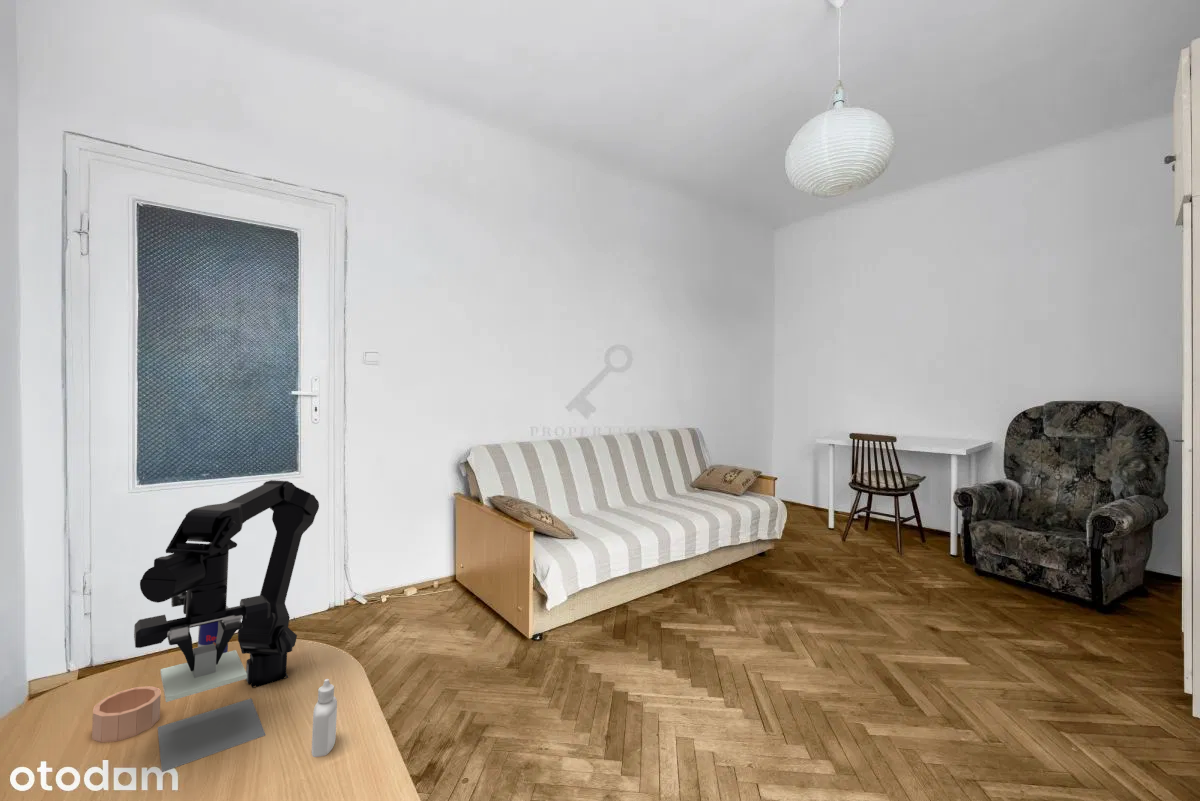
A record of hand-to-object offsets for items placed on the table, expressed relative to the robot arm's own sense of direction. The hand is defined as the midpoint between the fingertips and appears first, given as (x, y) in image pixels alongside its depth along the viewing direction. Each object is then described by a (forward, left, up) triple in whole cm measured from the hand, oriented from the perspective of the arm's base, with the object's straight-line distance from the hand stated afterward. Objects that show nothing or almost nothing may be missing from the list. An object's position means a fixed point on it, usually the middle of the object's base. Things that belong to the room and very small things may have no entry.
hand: (203, 666), depth 91 cm
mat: (-1, +1, -12) cm, 12 cm away
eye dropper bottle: (-15, +17, -12) cm, 26 cm away
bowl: (+10, -10, -12) cm, 18 cm away
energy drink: (-4, -27, -12) cm, 30 cm away
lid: (0, 0, -2) cm, 2 cm away
